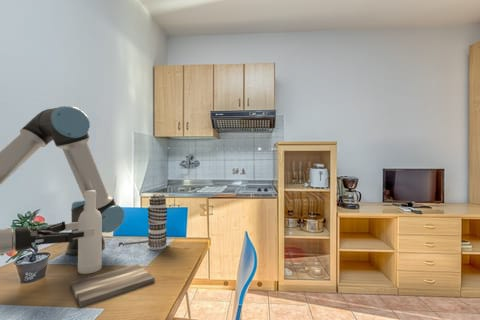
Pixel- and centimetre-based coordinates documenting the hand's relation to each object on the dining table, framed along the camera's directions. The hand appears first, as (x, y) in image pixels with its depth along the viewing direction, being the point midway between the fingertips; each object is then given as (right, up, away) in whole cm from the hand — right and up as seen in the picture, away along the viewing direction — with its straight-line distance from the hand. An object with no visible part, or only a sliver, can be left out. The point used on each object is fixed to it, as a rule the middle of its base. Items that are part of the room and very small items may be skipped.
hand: (89, 227), depth 96 cm
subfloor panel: (+14, -16, -11) cm, 24 cm away
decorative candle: (+17, -16, +26) cm, 35 cm away
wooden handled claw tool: (+8, -17, +31) cm, 36 cm away
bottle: (0, -16, 0) cm, 16 cm away
